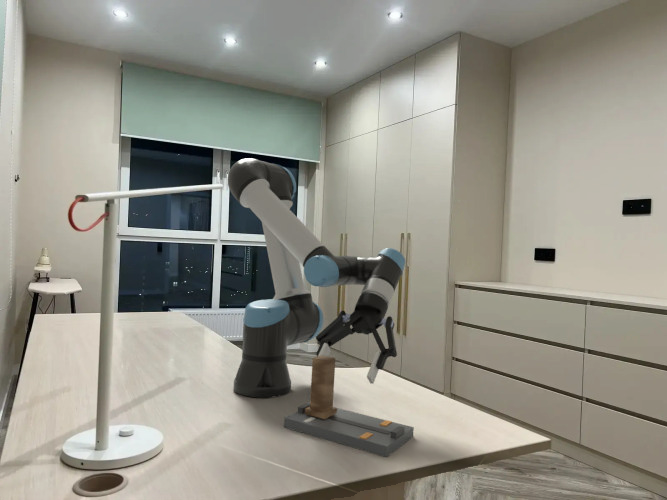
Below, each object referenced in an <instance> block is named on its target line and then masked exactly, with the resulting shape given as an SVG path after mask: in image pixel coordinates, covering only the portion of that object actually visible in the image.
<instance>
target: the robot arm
mask: <svg viewBox="0 0 667 500" xmlns="http://www.w3.org/2000/svg"><path fill="white" fill-rule="evenodd" d="M227 185H228V188H229V191H230V193H231V194H232V196H233V198H234V199H236V201H237V202H238V203H239V204H240V205H241V206H242V207H244V208H246V209H247V208H248V209H250V210H251V211H252V212H253V213H254V215H255V216H256V217H257V218H258V219H259V220H260V221H261V225H262V231H263V235H264V240H265V245H266V251H267V256H268V261H269V262H268V263H269V266H270V267H269V268H270V272H271V277H272V281H273V287H274V293H275V294H274V296H273V298H271V299H270V298H269V299H260V300H255V301H252V302H249V303H248V304H247V305H246V306H245V309H244V316H243V326H242V329H243V332H242V352H241V355H242V356H241V362H240V364H239V366H238V369H237V372H236V375H235V377H234V379H233V391H234V392H235V393H236V394H238V395H241V396H244V397H250V398H261V399H262V398H263V399H264V398H265V399H267V398H276V397H283V396H286V395H288V394H289V393H291V391H292V380H291V377H290V372H289V368H288V364H287V351H288V348H287V347H289V346H293V345H297V344H304V343H307V342H308V341H312V340H314V339H315V340H316V341H317V343H318V345H319V347H318V349H317V351H316V354H315V355H316V357H318V356H321V355H323V356H328V357H329V355H330V353H331V348H330V347H332V346H334V345H335V344H337V343H338V342H340V341H341V340H343V339H345V338H346V337H348V336H349V335H353V334H364V335H370V334H372V336H373V338H374V340H375V342H376V344H377V345H378V349H379V350H380V351H376V353H375V354H374V356H373V359H372V362H371V365H370V367H369V370H368V372H367V375H366V378H367V380H368V382H369V383H370V384H374V383H375V380H376V378H377V375H378V373H379V370H380V371H381V370H383V369H384V366H385V364H386V362H387V359H388V358H391V357H393V358H396V357H397V356H398V352H397V346H396V342H395V341H396V340H395V336H394V335H395V334H394V328H395V322H394V320H393V317H392V316H387V317H386V315H387V311H388V309H389V307H390V304H391V302H392V299H393V296H394V294H395V291H396V289H397V286H398V284H399V282H400V279H401V277H402V276H403V272H404V269H405V266H406V257H404V255H403V253H401V251H398V250H397V249H395V248H389V247H388V248H387V247H386V248H384V249H382V250H380V251H379V253H377V256H354V255H353V256H351V255H334V254H333V253H332V252H331V251H330V250H329V249H328V248H327V247H326V245H324V244H323V243H322V242H321V240H320V239H318V238H317V236H316V235H315V234H314V233H313V232H312V231H311V230H310V229H309V228H308V227H307V226H306V225H305V224H304V223H303V222H302V221H301V219H299V218H298V216H297V215H295V214H294V212H293V211H292V210H291V208H292V207H293V203H294V202H293V199H294V197H295V193H296V192H297V182H296V179H295V177H294V175H293V173H292V172H291V171H290V170H289V169H287V168H286V167H285V166H282V165H280V164H276V163H272V162H271V163H270V162H267V161H263V160H259V159H257V158H252V157H251V158H250V157H249V158H242V159H240V160H238V161H236V162H235V163H234V164H233V165H232V166H231V168H230V169H229V172H228V173H227ZM301 266H302V267H303V273H302V270H301V269H302V268H301ZM303 274H304V277H305V280H306V282H308V283H309V284H310V285H312V286H314V287H320V288H329V287H336V286H350V285H351V286H352V285H354V286H355V285H356V286H357V285H358V286H363V288H362V290H361V292H360V296H359V297H358V299H357V301H356V303H355V306H354V310H353V312H352V313H347V312H346V311H345V310H341V311H340V312H339V314H338V315H337V317H336V318H335V319H334V320H333V321H332V322H330V323H329V324H328V325H327V326H326V327H325V328H324V329H323V330H322V328H323V326H324V313H323V310H322V309H321V307H320V305H318V304H317V303H316V302H315V301H314V300H313V296H312V293H311V291H310V290H308V289H306V288H305V284H304V279H303ZM385 317H386V318H385ZM382 326H384V328H385V332H386V333H385V334H386V339H387V344H388V348H386V347H385V344H384V342H383V340H382V338H381V336H380V334H379V332H378V329H379V328H381V327H382ZM351 327H352V328H351Z"/></svg>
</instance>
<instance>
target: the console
mask: <svg viewBox="0 0 667 500" xmlns="http://www.w3.org/2000/svg"><path fill="white" fill-rule="evenodd" d="M308 407H310V402H307V403H304V404H302V405H299V406H297V412H294V413H292V414H290V415H288V416H285V417H284V423H283V426H284V427H283V428H286V429H290V430H294V431H296V432H300V433H303V434H307V435H310V436H312V437H317V438H320V439H323V440H327V441H330V442H333V443H338V444H341V445H345V446H347V447H351V448H354V449H358V450H361V451H365V452H368V453H371V454H373V455H374V454H375V455H378V456H381V457H384V458H388V457H389V456H390V455H391V454H393V453H394V452H395V451H397V450H398V449H399V448H400V447H401V446H403V445H405V444H406V443H407V442H408V441H410V440H411V439H413V438H414V429H415V427H414V426H410V425H406V424H402V423H399V422H394V421H392V420H391V421H390V420H387V419H383V418H378V417H375V416H370V415H366V414H364V413H359V412H355V411H351V410H346V409H343V408H339V407H336V408H337V413H336V414H334V415H332V416H330V417H328V418H326V419H322V418H318V417H314V416H310V415H307V414H305V408H308Z"/></svg>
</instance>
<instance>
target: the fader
mask: <svg viewBox="0 0 667 500" xmlns="http://www.w3.org/2000/svg"><path fill="white" fill-rule="evenodd" d="M335 370H336V357H331V356H329V355H328V356H323V355H321V356H318V357H317V356H315V357H312V364H311V382H310V384H311V385H310V397H309V398H310V399H309V401H310V402H309V403H310V407H308V408H305V414H307V415H310V416H314V417H318V418H322V419H326V418H328V417H330V416H332V415H334V414H336V413H337V408H338V407H335V406H333V405H334V391H335V390H334V387H335V374H336V373H335V372H336V371H335Z"/></svg>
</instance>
